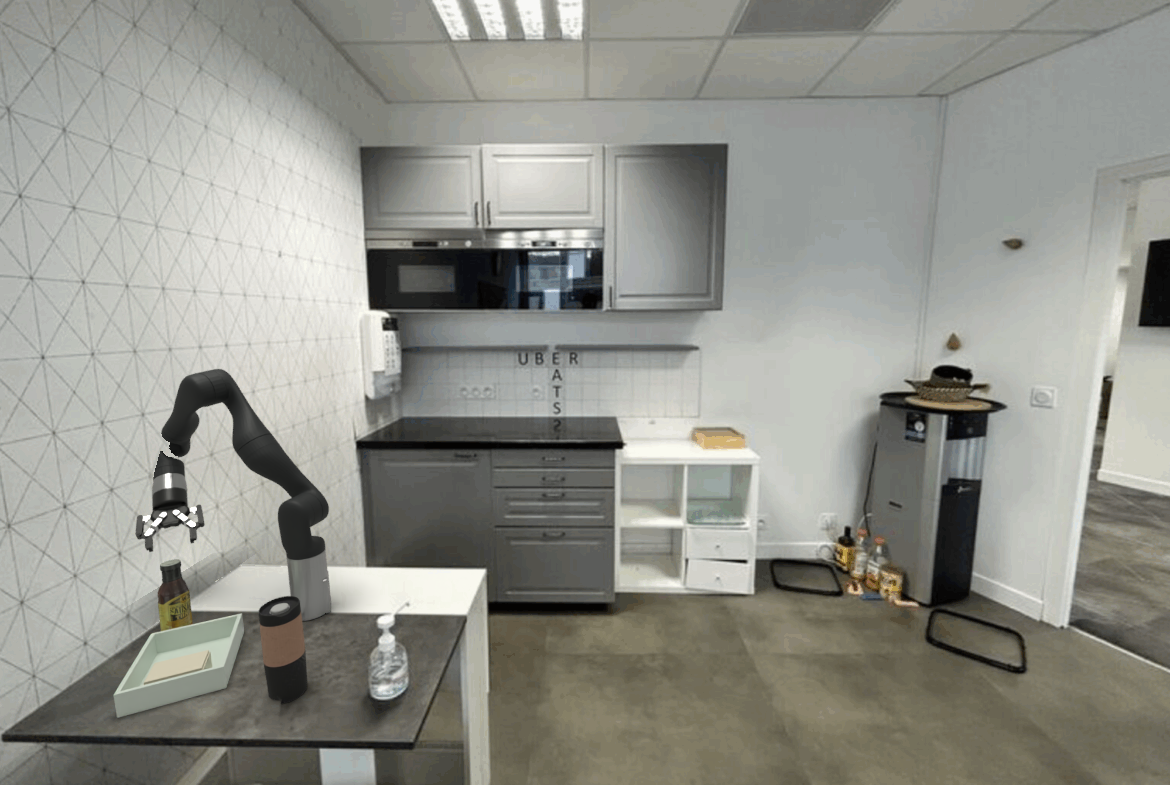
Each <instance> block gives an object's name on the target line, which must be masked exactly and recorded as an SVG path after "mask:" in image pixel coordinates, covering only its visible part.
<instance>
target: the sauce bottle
mask: <svg viewBox="0 0 1170 785" xmlns="http://www.w3.org/2000/svg"><path fill="white" fill-rule="evenodd" d="M181 568H182V561H181V559H175V558H174V559H169V560H166V561H164V562H162V563H161V564H160V566H159V569H160V571H161V578H162V579H161V581H162V583H161V585H160V586H159V588H158V590H157V600H158V602H157V606H158V615H159V628H160V631H165V630H169V629H174V628H178V627H183V626H187V625H192V624H194V623H193V614H192V603H191V593H190V588H189V586H188V585H187V583H186V581H185V579H184V578H183V574H182V569H181Z"/></svg>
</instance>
